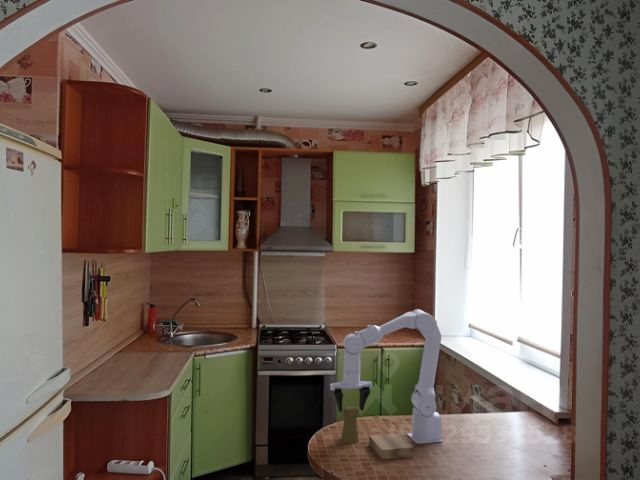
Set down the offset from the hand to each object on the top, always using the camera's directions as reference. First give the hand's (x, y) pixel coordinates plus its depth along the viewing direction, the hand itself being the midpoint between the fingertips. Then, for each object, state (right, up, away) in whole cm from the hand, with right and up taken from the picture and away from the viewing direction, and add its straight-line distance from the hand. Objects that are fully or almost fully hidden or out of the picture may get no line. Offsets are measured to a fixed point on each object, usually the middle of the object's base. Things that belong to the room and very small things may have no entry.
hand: (350, 410), depth 163 cm
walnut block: (+13, -11, -8) cm, 18 cm away
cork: (0, -10, 0) cm, 10 cm away
